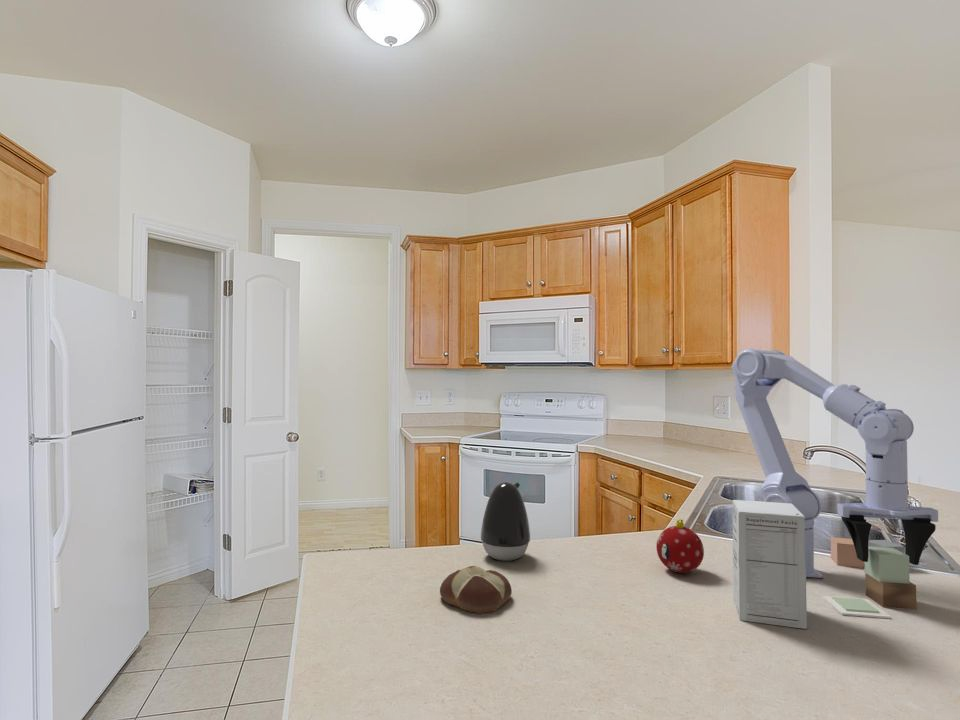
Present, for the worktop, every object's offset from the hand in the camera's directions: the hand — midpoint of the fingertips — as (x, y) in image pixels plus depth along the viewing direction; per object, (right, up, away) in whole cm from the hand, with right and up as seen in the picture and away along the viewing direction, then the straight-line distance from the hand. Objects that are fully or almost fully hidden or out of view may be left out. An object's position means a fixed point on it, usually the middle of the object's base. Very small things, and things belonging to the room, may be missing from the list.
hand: (887, 561), depth 92 cm
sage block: (0, -3, 0) cm, 3 cm away
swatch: (-8, -6, -3) cm, 10 cm away
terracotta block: (+6, -8, +19) cm, 21 cm away
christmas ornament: (-30, -7, +13) cm, 34 cm away
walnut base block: (0, -7, -1) cm, 7 cm away
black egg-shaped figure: (-64, -7, +20) cm, 67 cm away
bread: (-69, -6, -1) cm, 70 cm away
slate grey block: (+13, -8, +18) cm, 23 cm away
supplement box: (-23, -6, -6) cm, 25 cm away
